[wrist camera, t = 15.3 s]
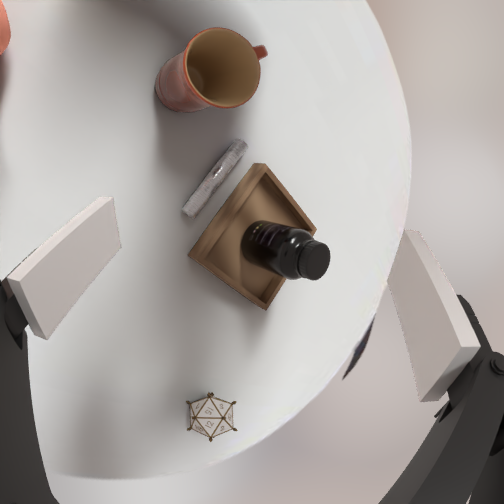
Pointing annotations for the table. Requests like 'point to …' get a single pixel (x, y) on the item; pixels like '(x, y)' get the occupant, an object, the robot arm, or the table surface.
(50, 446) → the table surface
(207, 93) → the mug
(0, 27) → the teapot
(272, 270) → the supplement bottle
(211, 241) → the tray
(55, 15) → the table surface
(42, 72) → the table surface
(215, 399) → the game die
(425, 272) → the robot arm
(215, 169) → the pin
